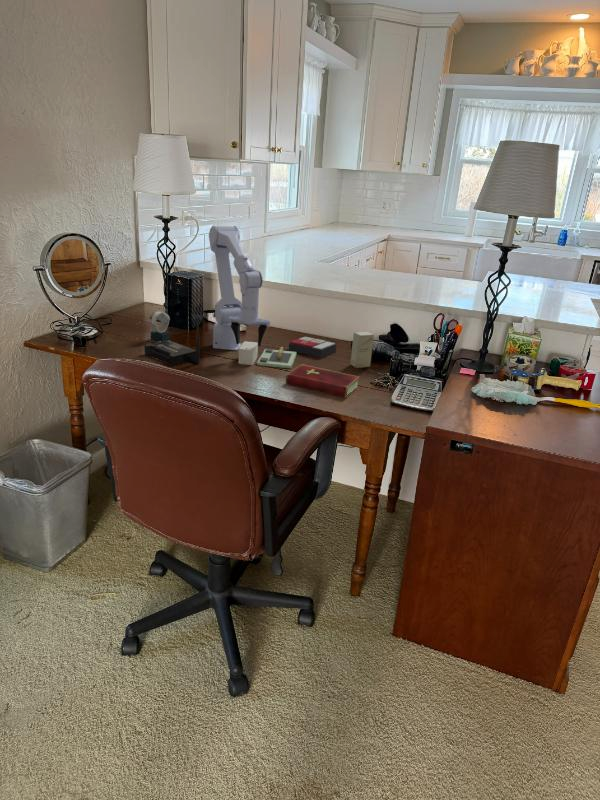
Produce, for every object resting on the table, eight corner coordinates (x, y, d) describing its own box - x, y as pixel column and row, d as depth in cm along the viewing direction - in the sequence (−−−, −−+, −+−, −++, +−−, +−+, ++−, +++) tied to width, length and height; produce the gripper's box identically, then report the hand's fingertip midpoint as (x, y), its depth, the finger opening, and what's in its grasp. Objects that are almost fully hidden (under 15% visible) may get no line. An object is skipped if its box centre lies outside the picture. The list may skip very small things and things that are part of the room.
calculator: (304, 335, 222) (337, 342, 214) (304, 346, 223) (336, 352, 215) (288, 341, 213) (321, 348, 205) (288, 351, 215) (321, 359, 207)
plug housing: (238, 363, 195) (238, 348, 193) (243, 355, 204) (244, 340, 202) (252, 365, 195) (253, 349, 193) (257, 357, 203) (257, 342, 201)
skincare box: (356, 368, 199) (359, 335, 195) (349, 364, 203) (353, 332, 198) (370, 366, 202) (374, 334, 198) (363, 362, 206) (367, 330, 201)
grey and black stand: (140, 356, 197) (138, 308, 190) (172, 349, 207) (171, 303, 200) (176, 371, 185) (175, 321, 179) (208, 362, 195) (208, 315, 189)
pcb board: (257, 365, 195) (257, 354, 194) (264, 351, 210) (265, 341, 208) (290, 368, 194) (291, 357, 193) (296, 354, 209) (297, 344, 208)
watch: (172, 338, 217) (172, 311, 212) (159, 343, 210) (158, 315, 206) (160, 336, 219) (160, 308, 214) (147, 341, 212) (146, 312, 208)
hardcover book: (346, 399, 173) (347, 387, 171) (285, 385, 180) (286, 373, 179) (358, 387, 183) (360, 375, 182) (300, 374, 191) (301, 363, 189)
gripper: (226, 307, 189) (225, 345, 194) (268, 311, 188) (267, 349, 193) (231, 302, 195) (230, 340, 200) (272, 306, 194) (270, 344, 199)
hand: (248, 344), depth 197 cm, fingers open, 7 cm apart
